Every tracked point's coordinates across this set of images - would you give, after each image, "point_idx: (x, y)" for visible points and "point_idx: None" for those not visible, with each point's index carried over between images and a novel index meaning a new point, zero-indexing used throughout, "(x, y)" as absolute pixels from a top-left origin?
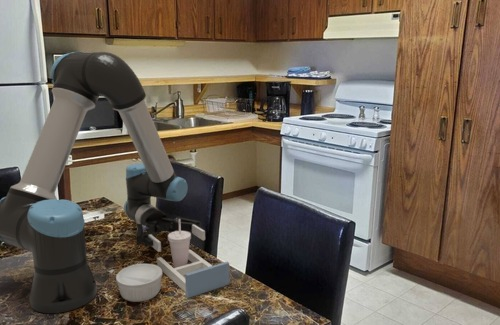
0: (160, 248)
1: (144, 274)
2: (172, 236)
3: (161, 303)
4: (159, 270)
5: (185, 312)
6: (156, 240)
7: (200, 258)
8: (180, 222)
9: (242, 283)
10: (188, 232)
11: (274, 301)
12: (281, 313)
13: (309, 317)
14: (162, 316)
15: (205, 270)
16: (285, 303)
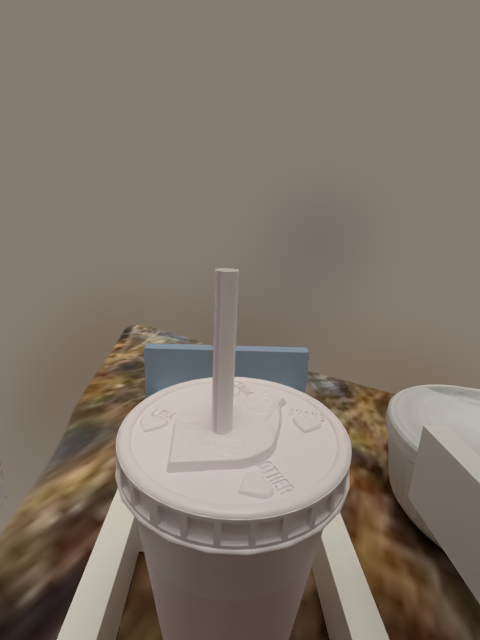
0: (416, 473)
1: (471, 419)
2: (309, 423)
3: (382, 429)
4: (402, 415)
5: (321, 388)
6: (474, 460)
7: (110, 532)
8: (219, 304)
9: (115, 404)
10: (130, 424)
11: (134, 352)
12: (159, 338)
13: (135, 326)
14: (379, 397)
15: (240, 346)
16: (125, 345)
